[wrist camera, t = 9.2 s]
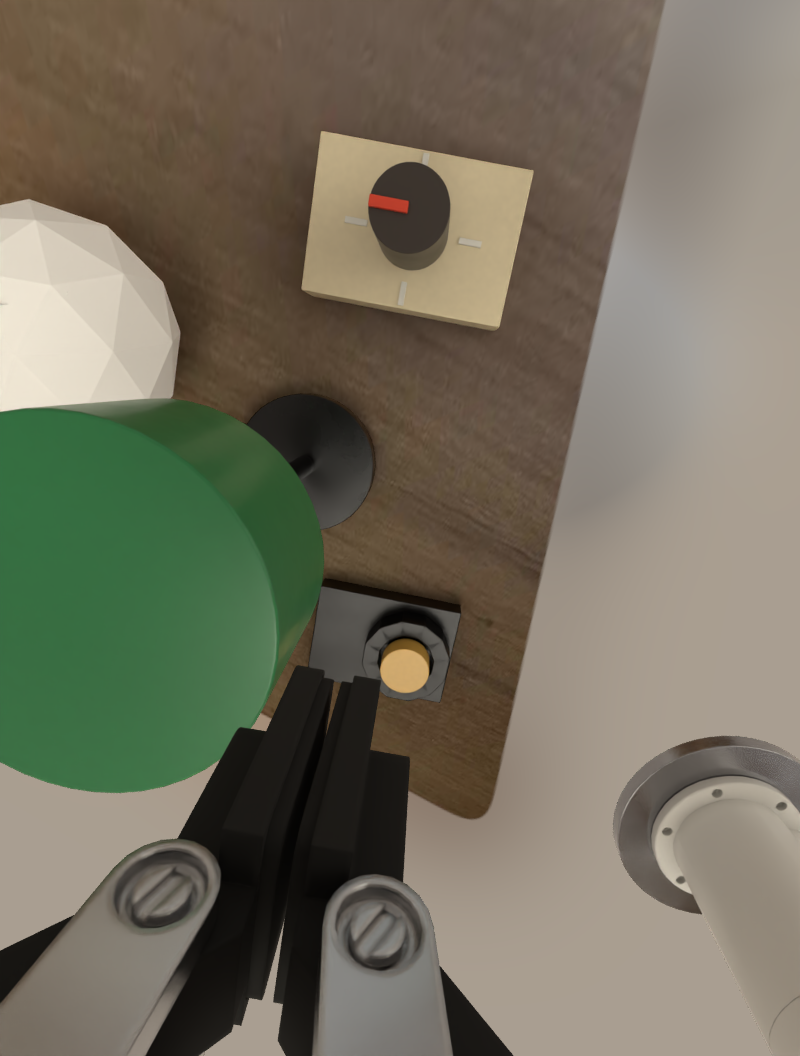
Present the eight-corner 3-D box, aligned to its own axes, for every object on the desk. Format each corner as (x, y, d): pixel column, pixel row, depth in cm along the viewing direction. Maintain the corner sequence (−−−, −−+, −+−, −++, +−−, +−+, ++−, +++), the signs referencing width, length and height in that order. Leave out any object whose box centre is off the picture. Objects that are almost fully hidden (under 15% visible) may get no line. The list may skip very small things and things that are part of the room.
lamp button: (433, 643, 41) (433, 654, 40) (424, 684, 42) (423, 697, 41) (386, 633, 41) (384, 644, 40) (378, 675, 42) (376, 687, 41)
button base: (460, 604, 44) (462, 623, 40) (440, 691, 46) (440, 716, 43) (324, 577, 44) (315, 594, 41) (311, 665, 46) (301, 688, 43)
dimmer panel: (526, 186, 36) (534, 169, 33) (494, 331, 38) (499, 327, 35) (330, 150, 36) (320, 129, 33) (311, 296, 38) (300, 289, 35)
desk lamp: (394, 402, 40) (305, 456, 13) (369, 544, 43) (254, 827, 16) (245, 373, 40) (-147, 368, 13) (231, 516, 43) (-113, 753, 16)
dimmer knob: (455, 199, 33) (458, 167, 28) (440, 276, 35) (441, 259, 30) (384, 186, 34) (374, 151, 28) (372, 263, 35) (361, 244, 30)
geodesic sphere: (0, 509, 38) (-44, 488, 25) (-135, 310, 35) (-262, 174, 22) (200, 421, 44) (243, 369, 32) (101, 247, 41) (105, 116, 29)
